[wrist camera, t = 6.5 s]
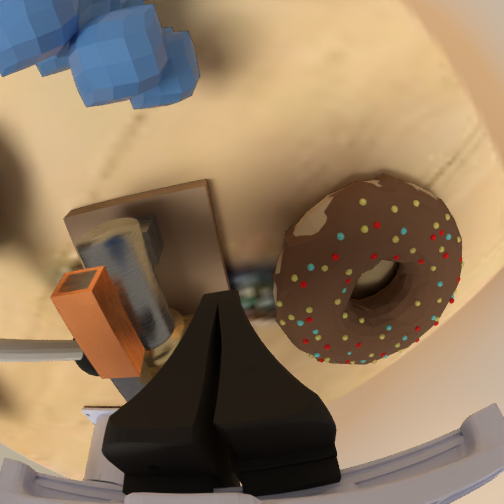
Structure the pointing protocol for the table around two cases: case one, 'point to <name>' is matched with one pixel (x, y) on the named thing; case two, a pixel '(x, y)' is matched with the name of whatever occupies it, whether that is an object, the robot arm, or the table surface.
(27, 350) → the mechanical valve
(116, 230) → the pipe and valve body
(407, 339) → the donut
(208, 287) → the walnut board
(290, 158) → the table surface
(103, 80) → the grapes
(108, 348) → the valve lever
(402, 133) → the table surface
